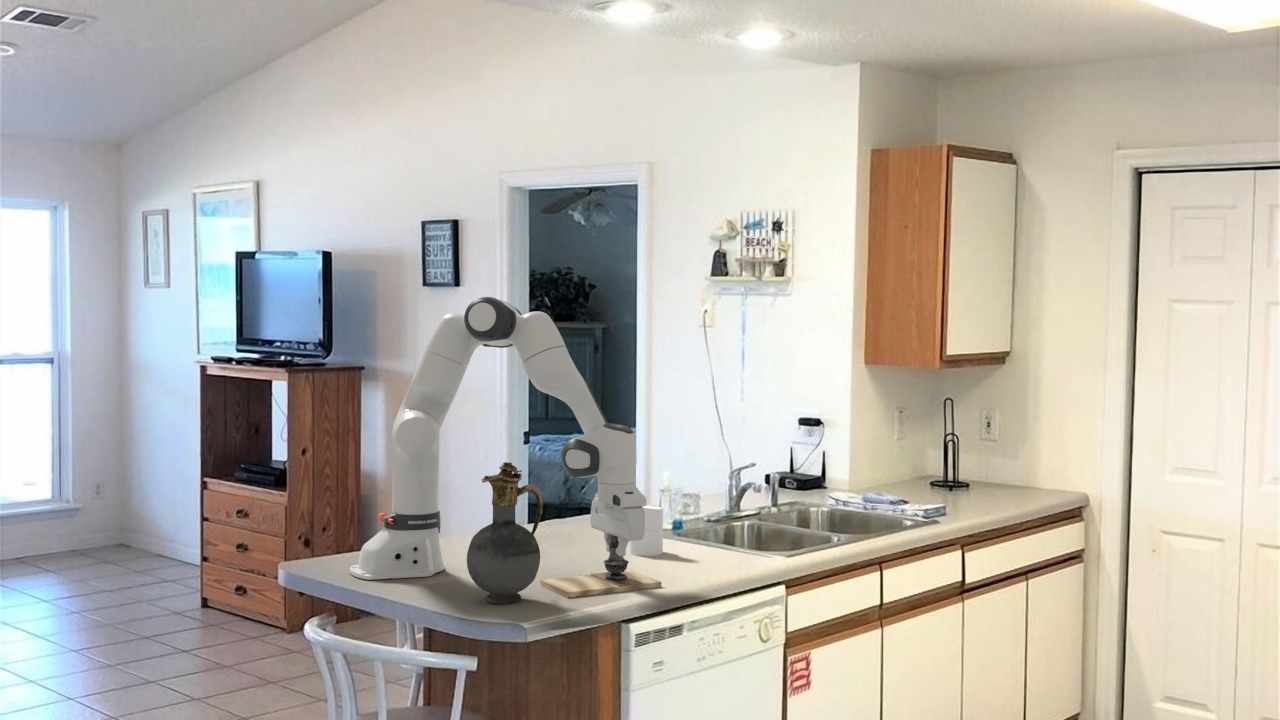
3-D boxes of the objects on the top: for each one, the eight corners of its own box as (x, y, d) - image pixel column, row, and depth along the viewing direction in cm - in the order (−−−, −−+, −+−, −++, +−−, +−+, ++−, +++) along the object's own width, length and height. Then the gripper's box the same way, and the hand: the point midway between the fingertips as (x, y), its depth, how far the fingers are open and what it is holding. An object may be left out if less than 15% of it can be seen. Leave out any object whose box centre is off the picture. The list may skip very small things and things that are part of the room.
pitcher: (459, 602, 268) (460, 464, 267) (524, 588, 282) (525, 457, 281) (492, 610, 261) (493, 468, 259) (558, 596, 275) (559, 461, 274)
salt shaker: (631, 575, 289) (632, 524, 289) (624, 580, 284) (625, 528, 283) (607, 573, 291) (608, 522, 290) (599, 578, 285) (600, 526, 285)
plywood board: (567, 597, 273) (567, 591, 273) (540, 585, 285) (540, 579, 285) (661, 587, 285) (661, 580, 285) (631, 575, 297) (631, 569, 297)
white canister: (668, 551, 328) (668, 506, 327) (654, 557, 320) (654, 511, 319) (637, 548, 332) (637, 503, 331) (622, 554, 323) (623, 508, 323)
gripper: (584, 489, 294) (583, 547, 295) (625, 501, 276) (624, 563, 277) (607, 487, 297) (606, 545, 298) (650, 499, 279) (649, 560, 280)
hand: (615, 553), depth 287 cm, fingers closed on salt shaker, 3 cm apart
